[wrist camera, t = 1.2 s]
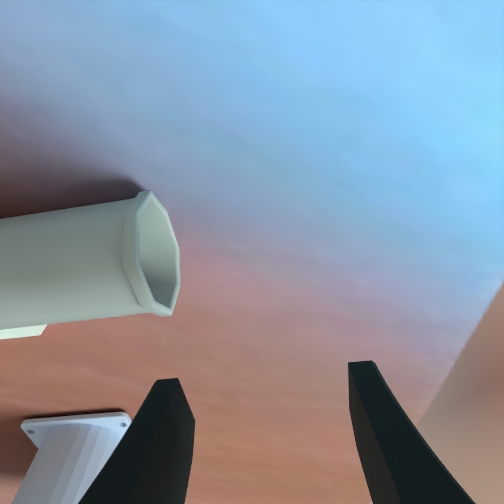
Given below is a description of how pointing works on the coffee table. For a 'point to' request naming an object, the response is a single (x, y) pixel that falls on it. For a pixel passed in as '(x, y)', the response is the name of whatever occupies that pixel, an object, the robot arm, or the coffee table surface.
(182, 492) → the robot arm
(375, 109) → the coffee table surface
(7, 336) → the rails
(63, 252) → the tube
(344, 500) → the coffee table surface
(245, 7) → the coffee table surface
